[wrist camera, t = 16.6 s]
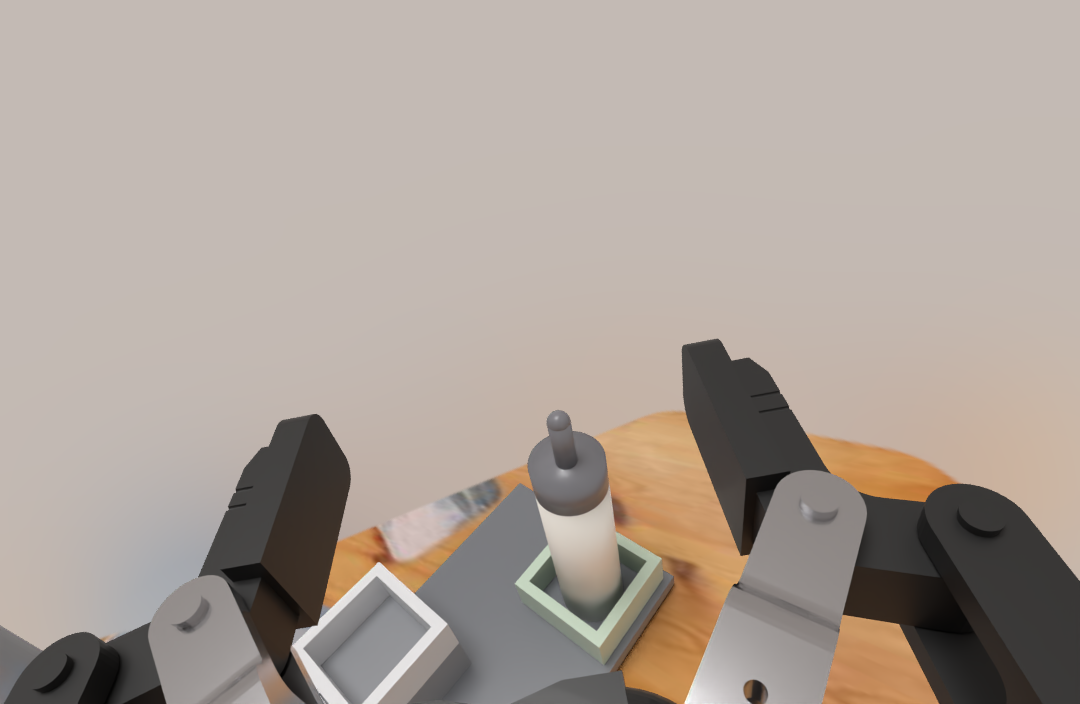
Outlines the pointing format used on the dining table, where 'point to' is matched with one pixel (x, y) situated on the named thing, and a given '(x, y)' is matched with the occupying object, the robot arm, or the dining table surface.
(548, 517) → the plug
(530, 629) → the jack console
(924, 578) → the robot arm
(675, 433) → the dining table surface
